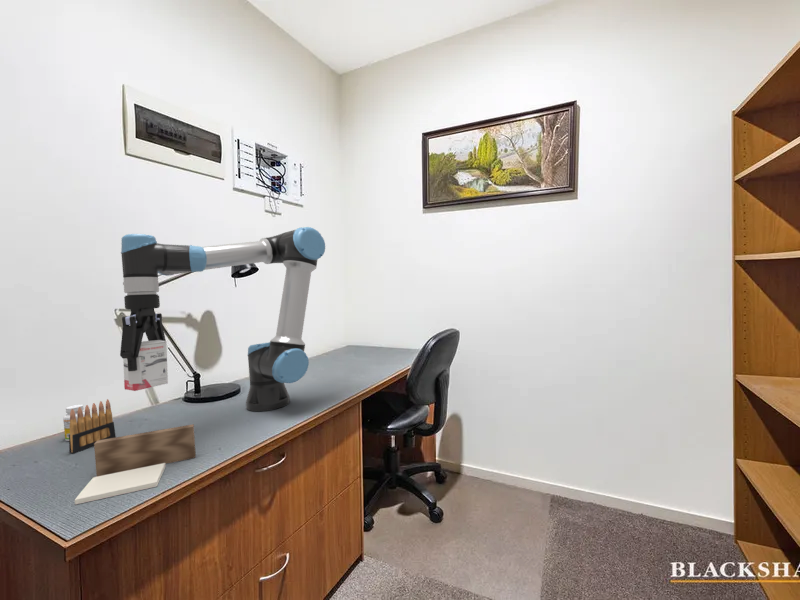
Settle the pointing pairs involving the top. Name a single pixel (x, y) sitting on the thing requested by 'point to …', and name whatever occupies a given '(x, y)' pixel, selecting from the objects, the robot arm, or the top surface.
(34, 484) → the top surface
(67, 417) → the supplement bottle
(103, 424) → the ammunition clip
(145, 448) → the walnut screen
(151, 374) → the ink box
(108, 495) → the pad
